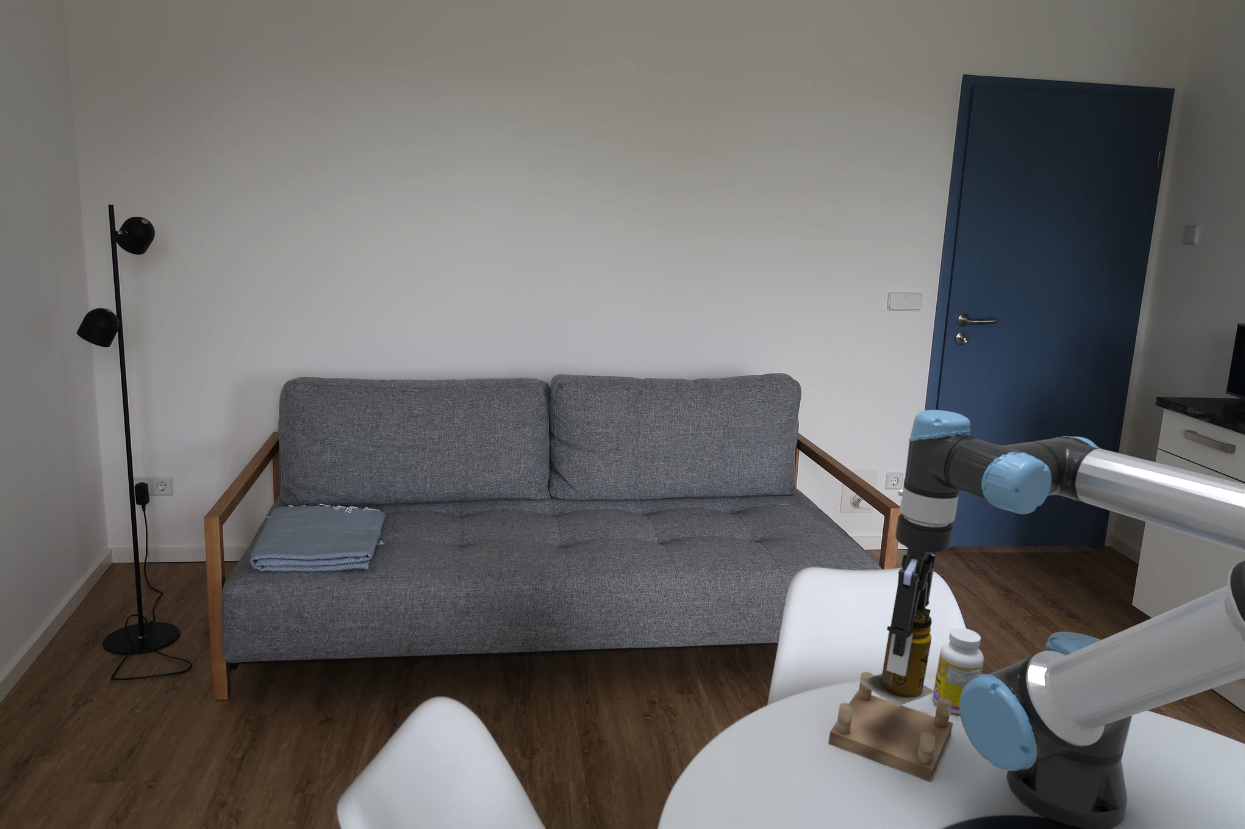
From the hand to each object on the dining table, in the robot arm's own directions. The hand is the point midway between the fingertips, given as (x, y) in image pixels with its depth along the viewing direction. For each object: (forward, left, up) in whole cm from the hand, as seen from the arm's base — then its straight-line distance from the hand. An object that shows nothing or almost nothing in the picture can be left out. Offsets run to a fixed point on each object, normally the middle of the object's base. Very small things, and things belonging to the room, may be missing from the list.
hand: (902, 662), depth 133 cm
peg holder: (0, 0, -13) cm, 13 cm away
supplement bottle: (-6, -16, -13) cm, 22 cm away
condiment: (0, +1, -4) cm, 4 cm away
